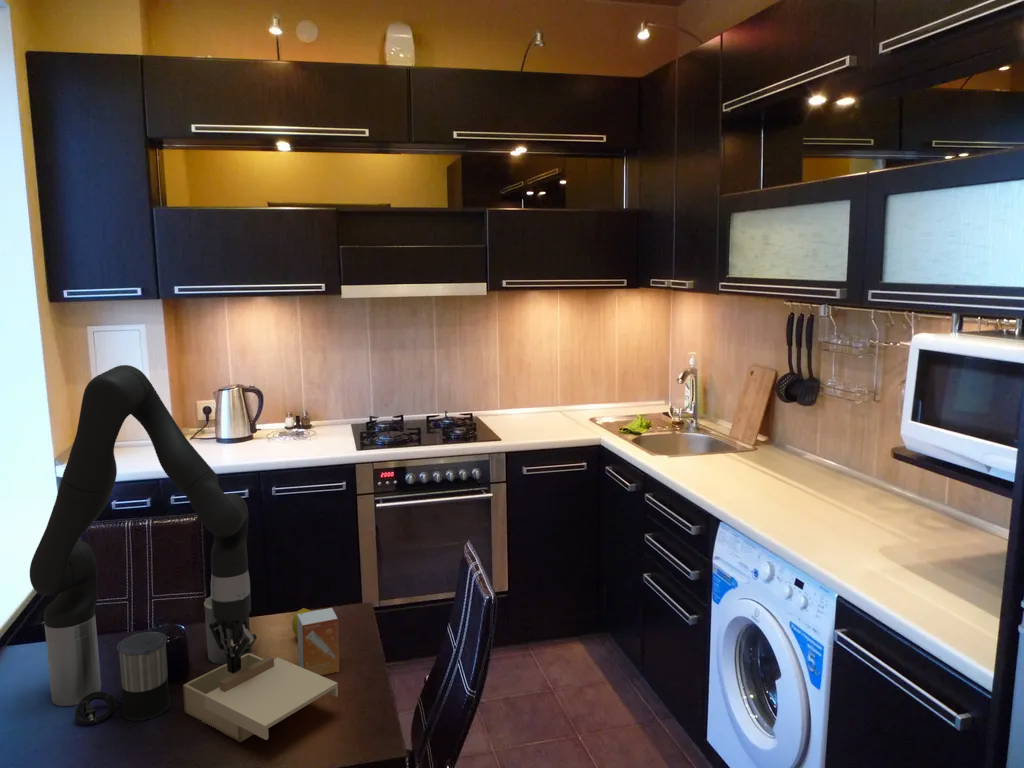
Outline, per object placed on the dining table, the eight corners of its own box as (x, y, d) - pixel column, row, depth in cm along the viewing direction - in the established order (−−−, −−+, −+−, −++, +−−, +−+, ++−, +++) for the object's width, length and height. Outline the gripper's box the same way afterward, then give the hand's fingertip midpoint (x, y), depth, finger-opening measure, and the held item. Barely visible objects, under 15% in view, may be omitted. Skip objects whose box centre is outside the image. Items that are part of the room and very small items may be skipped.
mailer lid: (205, 708, 149) (203, 686, 148) (278, 669, 164) (277, 649, 163) (265, 740, 139) (264, 716, 138) (338, 695, 154) (337, 674, 153)
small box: (303, 680, 167) (301, 625, 165) (298, 667, 173) (296, 613, 171) (340, 672, 171) (338, 617, 169) (333, 659, 176) (331, 606, 175)
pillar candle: (258, 645, 183) (255, 586, 181) (238, 666, 173) (234, 604, 171) (221, 643, 184) (217, 584, 182) (198, 663, 175) (194, 601, 172)
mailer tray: (184, 712, 155) (182, 685, 154) (250, 677, 168) (248, 652, 167) (240, 742, 145) (238, 713, 144) (305, 703, 158) (304, 676, 158)
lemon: (310, 631, 190) (309, 601, 189) (319, 640, 186) (318, 609, 185) (289, 638, 186) (287, 607, 185) (298, 646, 182) (297, 615, 181)
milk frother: (180, 706, 157) (176, 639, 155) (104, 744, 145) (98, 672, 142) (143, 684, 165) (138, 620, 163) (67, 719, 153) (61, 650, 150)
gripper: (194, 590, 155) (199, 669, 158) (235, 607, 148) (239, 689, 150) (226, 578, 161) (230, 654, 164) (266, 593, 154) (270, 673, 156)
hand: (234, 671), depth 157 cm, fingers closed
